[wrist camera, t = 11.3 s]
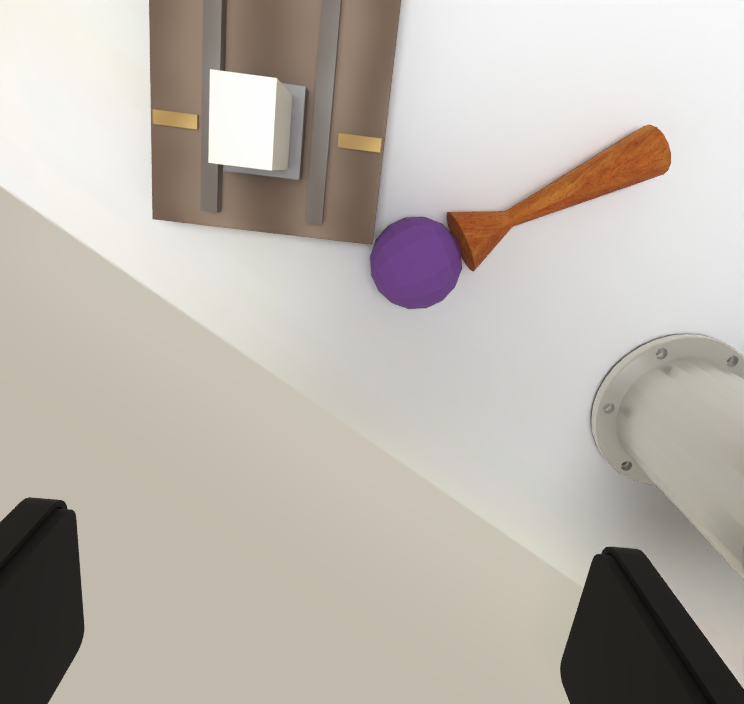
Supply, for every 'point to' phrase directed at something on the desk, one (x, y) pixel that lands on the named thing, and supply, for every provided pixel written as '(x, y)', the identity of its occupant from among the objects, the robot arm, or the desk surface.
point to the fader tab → (257, 124)
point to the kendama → (500, 222)
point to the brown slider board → (290, 66)
